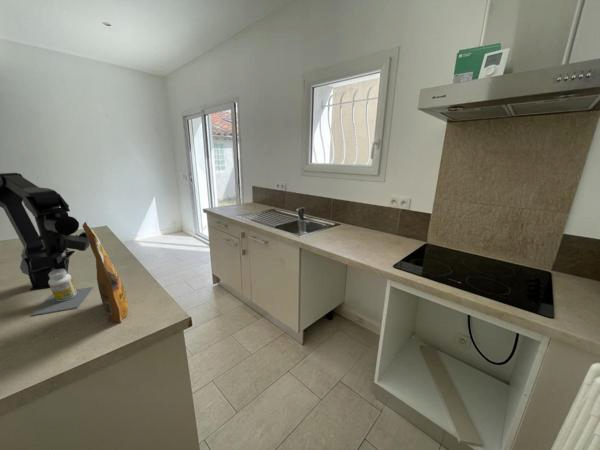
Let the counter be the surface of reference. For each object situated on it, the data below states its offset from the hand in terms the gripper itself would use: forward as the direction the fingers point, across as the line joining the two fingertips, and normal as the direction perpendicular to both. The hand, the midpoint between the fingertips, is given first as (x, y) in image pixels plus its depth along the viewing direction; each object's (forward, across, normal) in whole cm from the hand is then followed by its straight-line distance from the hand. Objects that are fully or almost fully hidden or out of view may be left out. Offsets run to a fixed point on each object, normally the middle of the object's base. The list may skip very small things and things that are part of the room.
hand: (65, 274), depth 81 cm
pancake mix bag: (+8, -16, -16) cm, 24 cm away
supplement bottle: (+7, -2, 0) cm, 7 cm away
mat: (+8, -4, 0) cm, 8 cm away
